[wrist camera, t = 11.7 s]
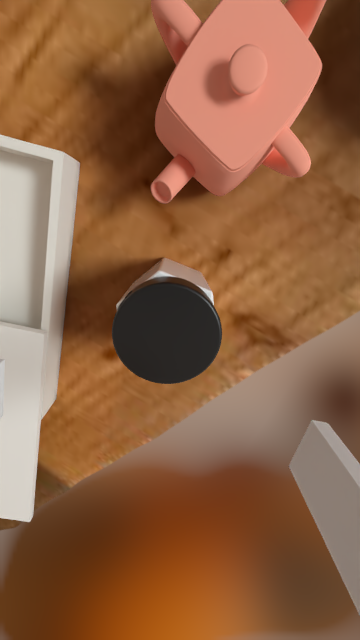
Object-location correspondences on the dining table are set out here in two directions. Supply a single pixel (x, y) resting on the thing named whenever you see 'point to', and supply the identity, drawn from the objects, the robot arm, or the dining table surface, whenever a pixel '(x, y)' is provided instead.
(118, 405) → the dining table surface
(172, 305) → the jar
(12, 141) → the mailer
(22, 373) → the lid
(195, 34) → the teapot
